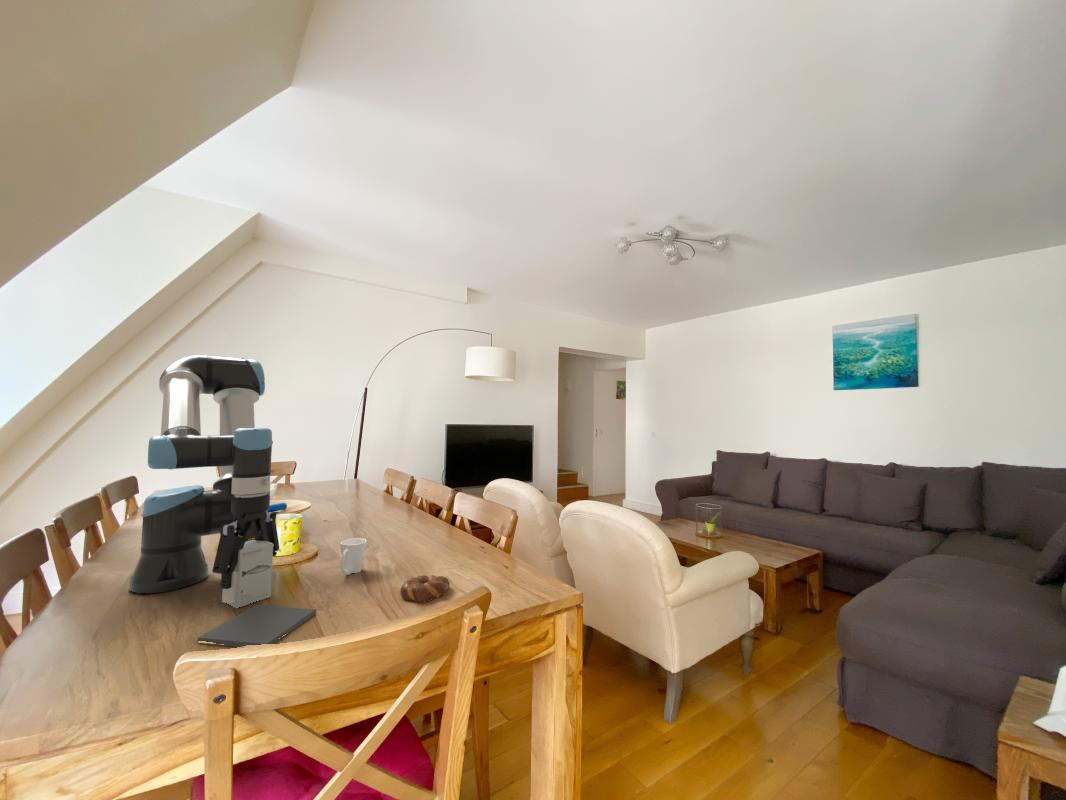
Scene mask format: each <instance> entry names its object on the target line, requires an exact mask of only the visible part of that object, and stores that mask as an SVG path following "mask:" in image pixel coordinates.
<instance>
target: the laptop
mask: <svg viewBox="0 0 1066 800" xmlns="http://www.w3.org/2000/svg"><path fill="white" fill-rule="evenodd" d="M316 613H317V609H316V608H307V607H306V608H304V607H293V606H282V605H281V606H280V605H270V604H269V605H267V604H256V605H253V606H252V607H250V608H249V609H246V610H245V611H243V612H241V613H239V614H237V615H235V616H234V617H232V618H230V619H229V620H227V621H225V622H223V623H222V624H220V625H218V626H216V627H214V628H213V629H210V630H209V631H207V632H205V633H204V634H202V635H200V636H198V637H197V642H198V641H206V642H213V643H216V644H224V645H226V646H227V647H232V648H233V647H235V648H240V647H239V646H246V645H261V644H273V643H274V644H276V643H277V642H279V641H280V640H279V638H281V637H282V636H283V635H285V634H287V633H288V634H290V633H291V632H293V631H294V630H296V627H297V628H298V627H300V626H301V625H302V624H304V623H305V622H306V621H308V620H309V619H311V618H312V617H314V616H315V615H316ZM303 622H304V623H303ZM299 625H300V626H299ZM293 629H294V630H293ZM292 630H293V631H292ZM290 631H291V632H290ZM289 632H290V633H289ZM288 634H287V635H288ZM281 639H282V638H281ZM278 640H279V641H278ZM274 644H273V645H274ZM224 645H222V646H224ZM226 646H224V647H226Z"/></svg>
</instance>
